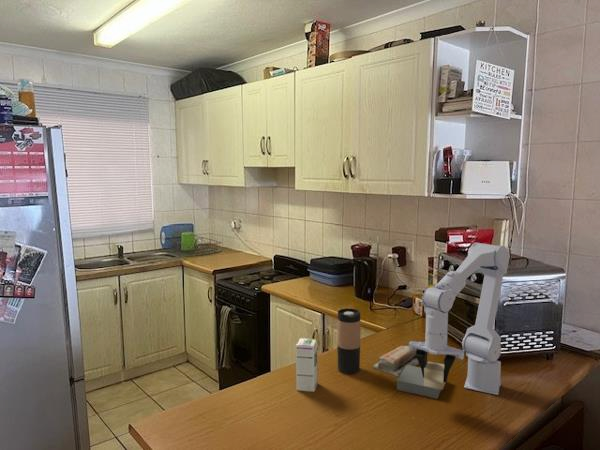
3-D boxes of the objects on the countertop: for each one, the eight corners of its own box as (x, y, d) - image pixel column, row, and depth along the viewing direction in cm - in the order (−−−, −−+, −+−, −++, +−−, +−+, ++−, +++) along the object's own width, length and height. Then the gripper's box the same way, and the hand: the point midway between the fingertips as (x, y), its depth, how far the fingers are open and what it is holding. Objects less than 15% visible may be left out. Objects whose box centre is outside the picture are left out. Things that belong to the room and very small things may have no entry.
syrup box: (314, 392, 129) (314, 345, 128) (295, 390, 131) (295, 344, 129) (317, 383, 135) (317, 338, 133) (299, 381, 136) (299, 337, 135)
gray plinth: (444, 381, 136) (445, 372, 135) (437, 398, 125) (437, 389, 125) (406, 373, 141) (406, 364, 141) (396, 389, 131) (396, 380, 130)
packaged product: (398, 364, 138) (372, 355, 145) (398, 378, 139) (372, 369, 146) (424, 347, 152) (399, 340, 158) (424, 360, 152) (399, 353, 159)
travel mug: (345, 362, 150) (345, 306, 148) (364, 368, 145) (365, 311, 143) (332, 370, 144) (332, 312, 142) (352, 377, 139) (352, 317, 137)
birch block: (445, 381, 121) (446, 364, 120) (442, 389, 117) (443, 372, 116) (427, 378, 123) (428, 361, 123) (423, 385, 119) (424, 368, 118)
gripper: (406, 331, 118) (405, 378, 120) (462, 340, 111) (460, 390, 113) (412, 323, 124) (411, 368, 126) (465, 332, 118) (464, 379, 119)
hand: (434, 378), depth 120 cm, fingers closed on birch block, 5 cm apart
